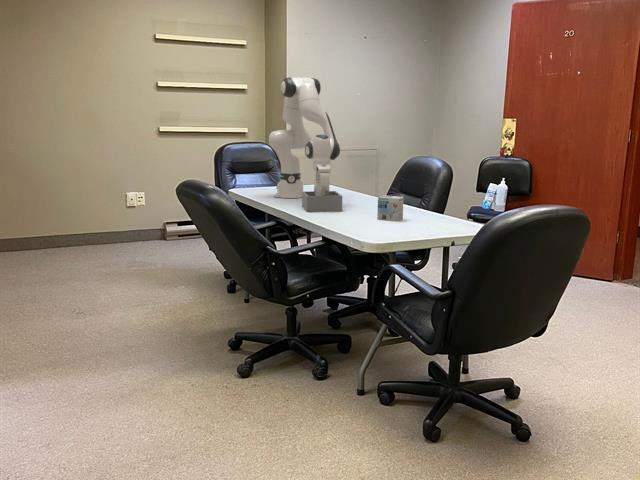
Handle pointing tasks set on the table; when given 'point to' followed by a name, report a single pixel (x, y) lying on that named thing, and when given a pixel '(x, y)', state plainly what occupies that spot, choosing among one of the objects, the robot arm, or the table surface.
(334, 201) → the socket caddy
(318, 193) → the syrup box
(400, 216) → the light bulb box
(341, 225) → the table surface
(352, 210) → the table surface
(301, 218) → the table surface
